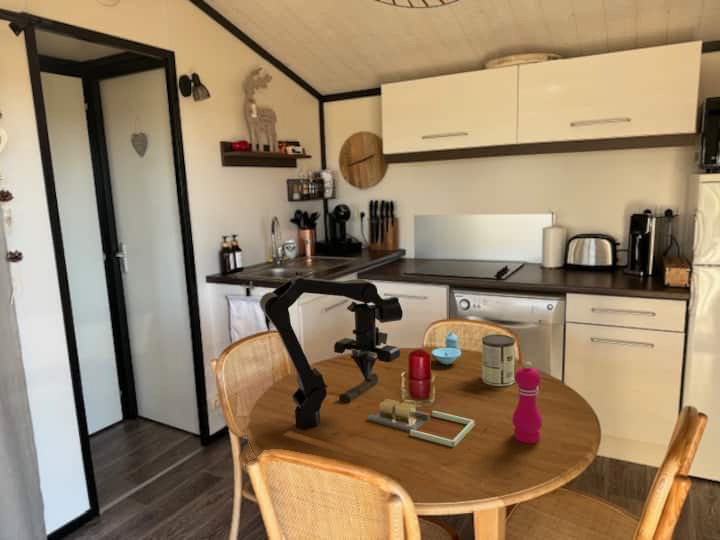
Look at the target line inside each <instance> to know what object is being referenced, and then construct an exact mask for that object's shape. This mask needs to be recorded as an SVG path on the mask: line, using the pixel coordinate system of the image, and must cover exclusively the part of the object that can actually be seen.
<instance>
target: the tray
mask: <svg viewBox="0 0 720 540" xmlns="http://www.w3.org/2000/svg"><path fill="white" fill-rule="evenodd" d="M431 413H432V414H431V416H432V417H435V418H439V419H444V420H447V421H451V422H456V423H459V424H463V425H465V427H464V428H463V429H462V430H461V431H460V432H459V433H458V434H457V435H455V437H454V438H453V439H449V438H445V437H441V436H437V435H434V434H430V433H427V432H423V431H420V430H419V431H418V430H412V429H411V430H410V432H409V435H410V436H411V437H415V438H418V439H422V440H427V441H430V442H434V443H438V444H441V445H444V446H445V445H446V446H448V447H452V448H454V447H456V446H457V445H458V444H459V442H461V440H463V438H465V436H466V435H467V434H468V433H469V432H470V431H471V430H472V428H473V427H475V425H476V424H475V423H476V422H475V419H470V418H468V417H467V418H466V417H461V416H457V415H453V414H449V413H445V412H440V411H436V410H432V411H431Z"/></svg>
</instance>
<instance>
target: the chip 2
mask: <svg viewBox="0 0 720 540" xmlns="http://www.w3.org/2000/svg"><path fill="white" fill-rule="evenodd" d="M416 410H417V409H416V405H415V404H411V403H407V402H401V403H399V405H398V406H397V407H396V408H395V416H396V421H399V422H403V423H407V424H411V423H412V422H413V421H414V420H415V419H416Z"/></svg>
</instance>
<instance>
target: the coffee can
mask: <svg viewBox="0 0 720 540" xmlns="http://www.w3.org/2000/svg"><path fill="white" fill-rule="evenodd" d="M515 342H516V339H515V337H513V336H510V335H507V334H488V335H483V337H482V338H481V343H482V344H481V350H482V351H481V353H482V356H481V357H482V358H481V359H482V364H481V365H482V371H481V372H482V374H481V375H482V379H481V381H482V382H483V383H484V384H486V385H488V386H493V387H507V386H511V385H513V384H514V383H515Z"/></svg>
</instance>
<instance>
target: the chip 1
mask: <svg viewBox="0 0 720 540" xmlns="http://www.w3.org/2000/svg"><path fill="white" fill-rule="evenodd" d="M398 405H400V401H399V400H393V399H390V398H386V399H385V400H383V401H382V402H380V403H379V412H380V417H384V418H388V419H392V420H394V419H396V416H395V408H396V407H397V406H398Z"/></svg>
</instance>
